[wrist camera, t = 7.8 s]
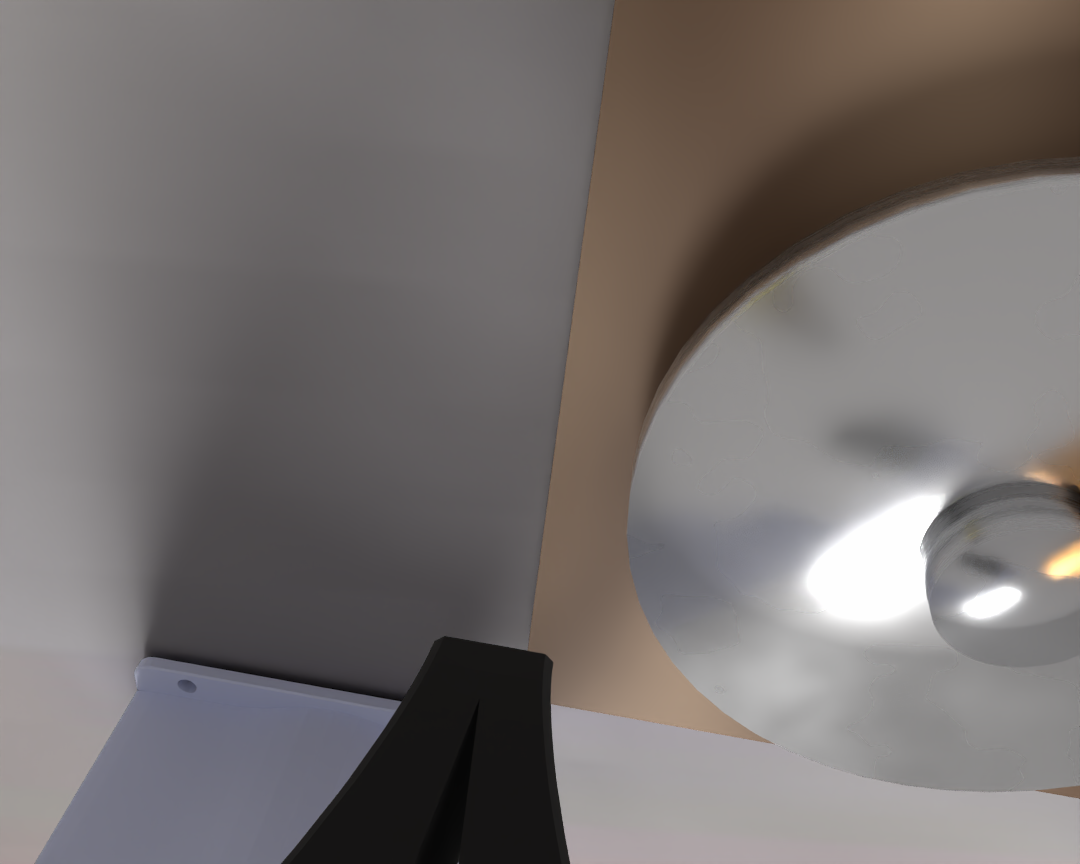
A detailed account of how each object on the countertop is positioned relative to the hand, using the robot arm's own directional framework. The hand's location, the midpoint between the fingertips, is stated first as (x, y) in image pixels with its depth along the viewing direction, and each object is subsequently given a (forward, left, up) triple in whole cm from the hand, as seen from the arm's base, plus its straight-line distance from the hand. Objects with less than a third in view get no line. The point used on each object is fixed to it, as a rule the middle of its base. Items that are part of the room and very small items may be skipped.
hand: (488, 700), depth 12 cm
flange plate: (+8, -1, -7) cm, 11 cm away
